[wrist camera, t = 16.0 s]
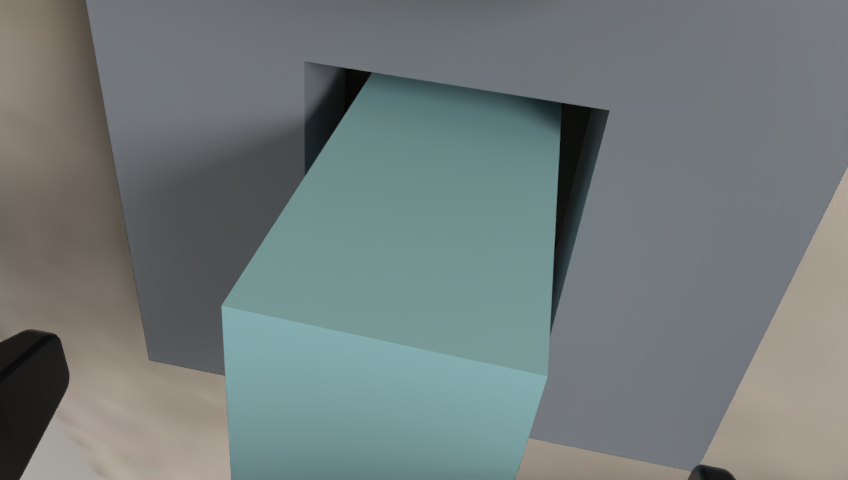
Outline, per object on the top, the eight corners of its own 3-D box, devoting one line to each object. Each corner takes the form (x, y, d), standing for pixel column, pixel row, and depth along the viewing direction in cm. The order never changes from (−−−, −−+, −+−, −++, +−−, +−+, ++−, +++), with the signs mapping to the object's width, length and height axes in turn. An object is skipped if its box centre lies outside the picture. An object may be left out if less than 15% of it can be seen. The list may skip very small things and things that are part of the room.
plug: (563, 85, 16) (547, 376, 8) (525, 233, 18) (488, 563, 11) (385, 52, 16) (221, 305, 9) (371, 202, 18) (232, 502, 11)
